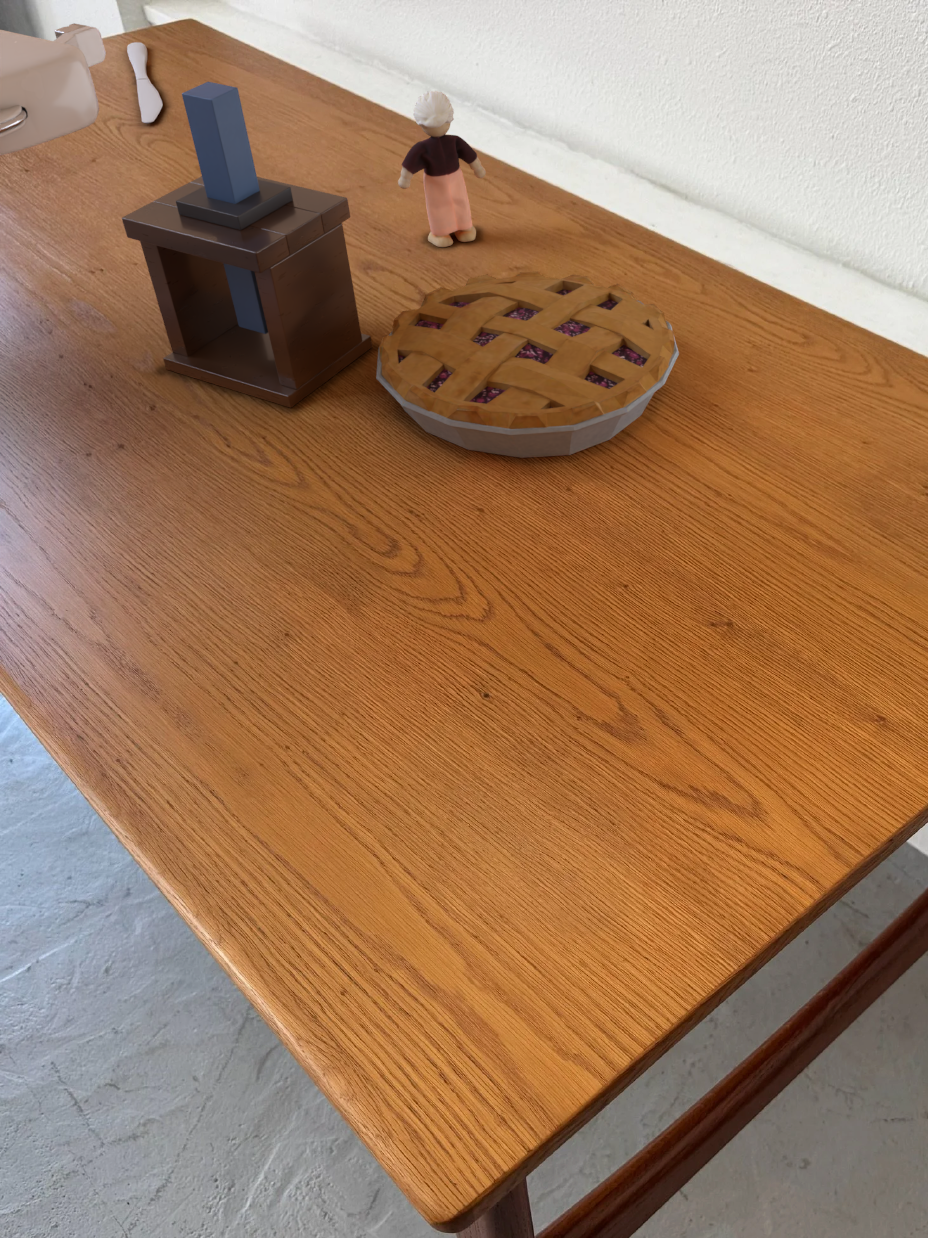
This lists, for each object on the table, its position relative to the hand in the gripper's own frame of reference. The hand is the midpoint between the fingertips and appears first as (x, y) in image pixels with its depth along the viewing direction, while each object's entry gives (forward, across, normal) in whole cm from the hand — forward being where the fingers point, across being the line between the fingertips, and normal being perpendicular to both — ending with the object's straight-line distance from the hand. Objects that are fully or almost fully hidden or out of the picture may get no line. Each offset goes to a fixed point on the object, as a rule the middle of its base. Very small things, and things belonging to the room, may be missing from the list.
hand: (31, 26), depth 70 cm
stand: (+12, 0, +27) cm, 30 cm away
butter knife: (+54, +52, +28) cm, 80 cm away
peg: (+12, 0, +24) cm, 27 cm away
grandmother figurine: (+36, -1, +27) cm, 45 cm away
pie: (+18, -20, +27) cm, 38 cm away
